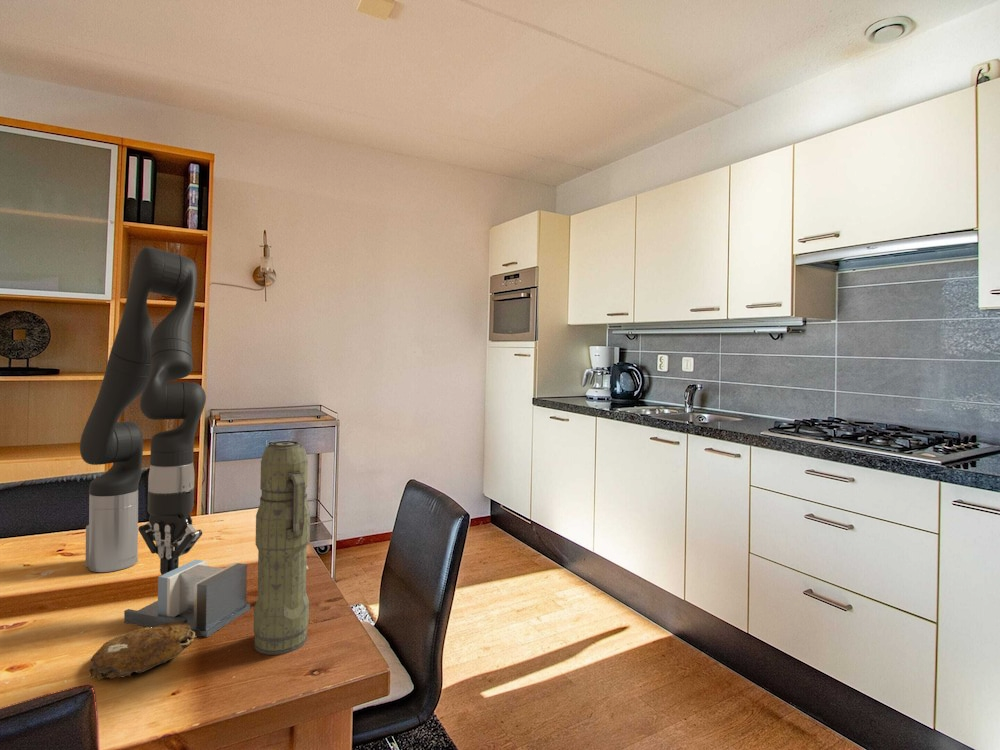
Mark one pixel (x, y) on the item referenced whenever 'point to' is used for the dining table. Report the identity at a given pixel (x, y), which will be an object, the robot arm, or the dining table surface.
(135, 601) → the dining table surface
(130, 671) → the decorative rock
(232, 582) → the vise
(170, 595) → the block
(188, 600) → the steel block
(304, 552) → the thermos
